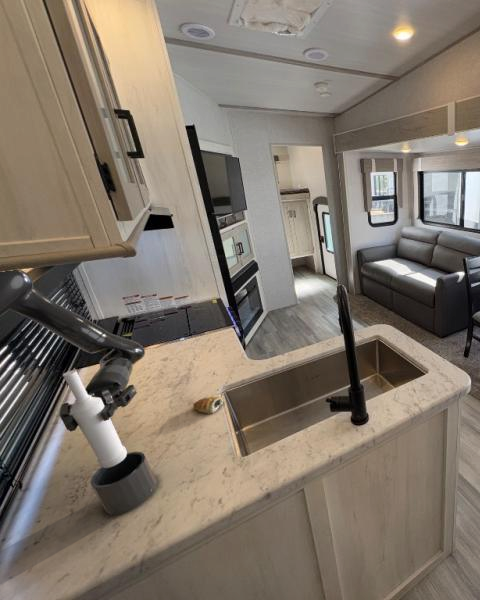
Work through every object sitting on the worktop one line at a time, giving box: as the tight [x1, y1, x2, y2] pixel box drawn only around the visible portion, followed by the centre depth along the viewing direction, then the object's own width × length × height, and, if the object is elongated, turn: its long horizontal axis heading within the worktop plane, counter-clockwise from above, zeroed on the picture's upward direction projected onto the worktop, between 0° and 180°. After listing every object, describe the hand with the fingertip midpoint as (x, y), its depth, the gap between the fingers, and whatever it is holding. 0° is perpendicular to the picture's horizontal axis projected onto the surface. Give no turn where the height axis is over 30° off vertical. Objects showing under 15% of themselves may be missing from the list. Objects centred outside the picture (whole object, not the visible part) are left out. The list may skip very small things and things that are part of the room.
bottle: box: [62, 369, 128, 468], centre depth 70 cm, size 5×5×25 cm
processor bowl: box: [90, 451, 158, 516], centre depth 77 cm, size 10×10×9 cm
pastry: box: [192, 395, 224, 414], centre depth 109 cm, size 9×7×4 cm
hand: (88, 422), depth 68 cm, fingers closed on bottle, 5 cm apart
